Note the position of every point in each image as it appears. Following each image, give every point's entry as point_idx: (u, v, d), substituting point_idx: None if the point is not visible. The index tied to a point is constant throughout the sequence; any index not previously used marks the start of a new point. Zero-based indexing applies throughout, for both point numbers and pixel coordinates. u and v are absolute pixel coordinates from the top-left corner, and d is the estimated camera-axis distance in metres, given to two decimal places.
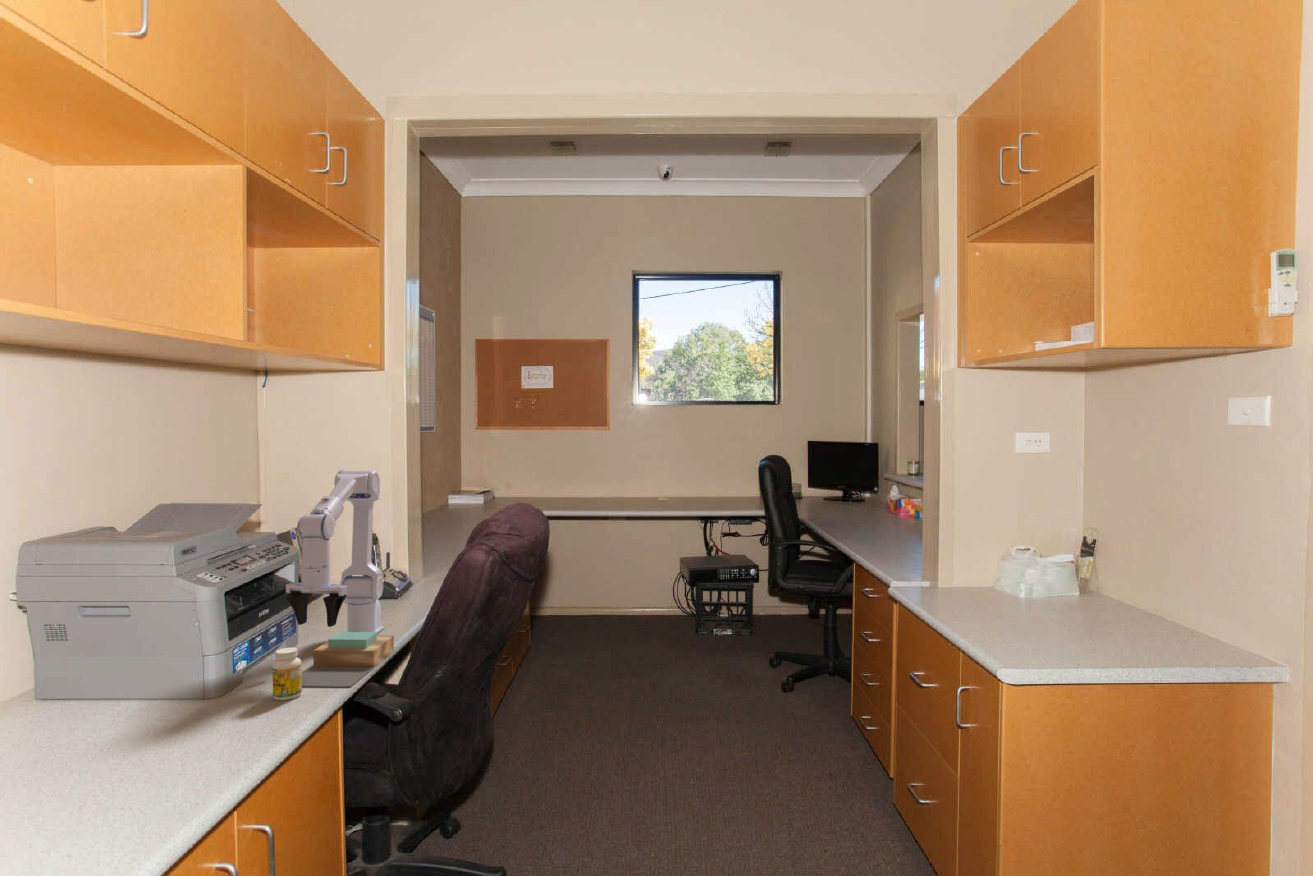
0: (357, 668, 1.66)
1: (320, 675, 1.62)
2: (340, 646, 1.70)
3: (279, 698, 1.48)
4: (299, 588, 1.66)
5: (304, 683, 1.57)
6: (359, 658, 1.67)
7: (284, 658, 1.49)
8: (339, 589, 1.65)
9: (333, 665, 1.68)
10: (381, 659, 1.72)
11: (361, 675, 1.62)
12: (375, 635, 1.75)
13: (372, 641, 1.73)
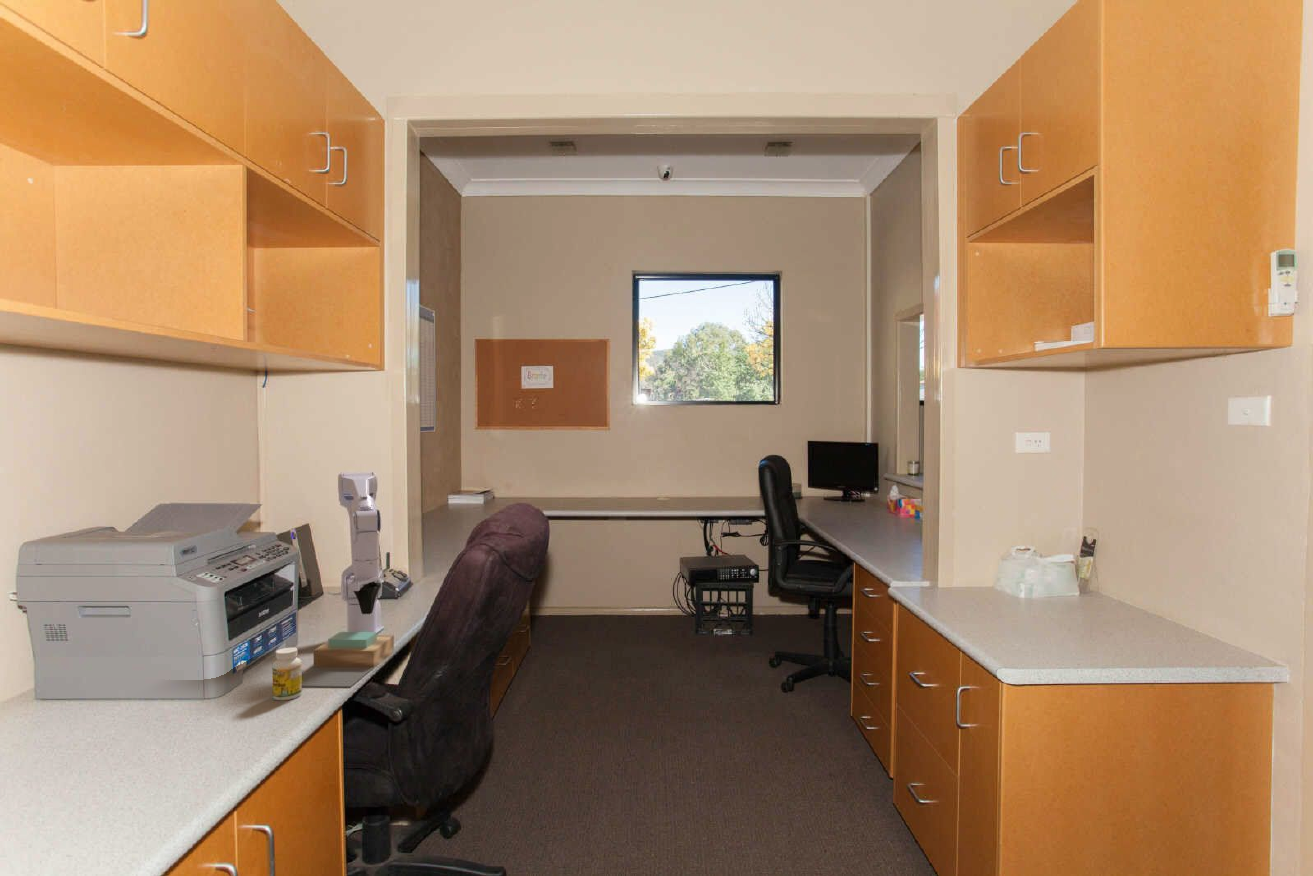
0: (357, 668, 1.66)
1: (320, 675, 1.62)
2: (340, 646, 1.70)
3: (279, 698, 1.48)
4: None
5: (304, 683, 1.57)
6: (359, 658, 1.67)
7: (284, 658, 1.49)
8: None
9: (333, 665, 1.68)
10: (381, 659, 1.72)
11: (361, 675, 1.62)
12: (375, 635, 1.75)
13: (372, 641, 1.73)
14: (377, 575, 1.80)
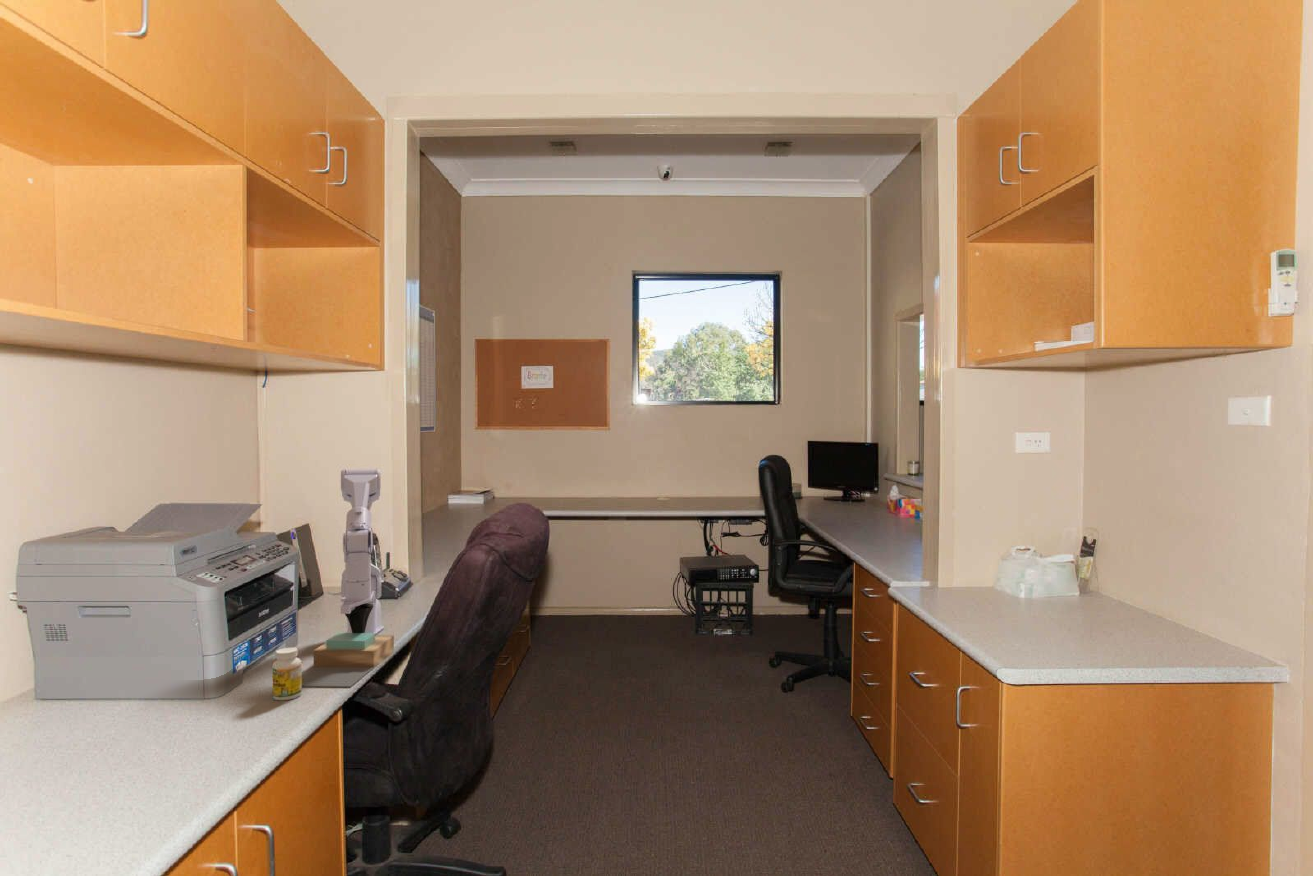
0: (357, 668, 1.66)
1: (320, 675, 1.62)
2: (338, 647, 1.69)
3: (279, 698, 1.48)
4: None
5: (304, 683, 1.57)
6: (359, 658, 1.67)
7: (284, 658, 1.49)
8: None
9: (333, 665, 1.68)
10: (381, 659, 1.72)
11: (361, 675, 1.62)
12: (373, 636, 1.74)
13: (370, 642, 1.72)
14: (369, 596, 1.75)
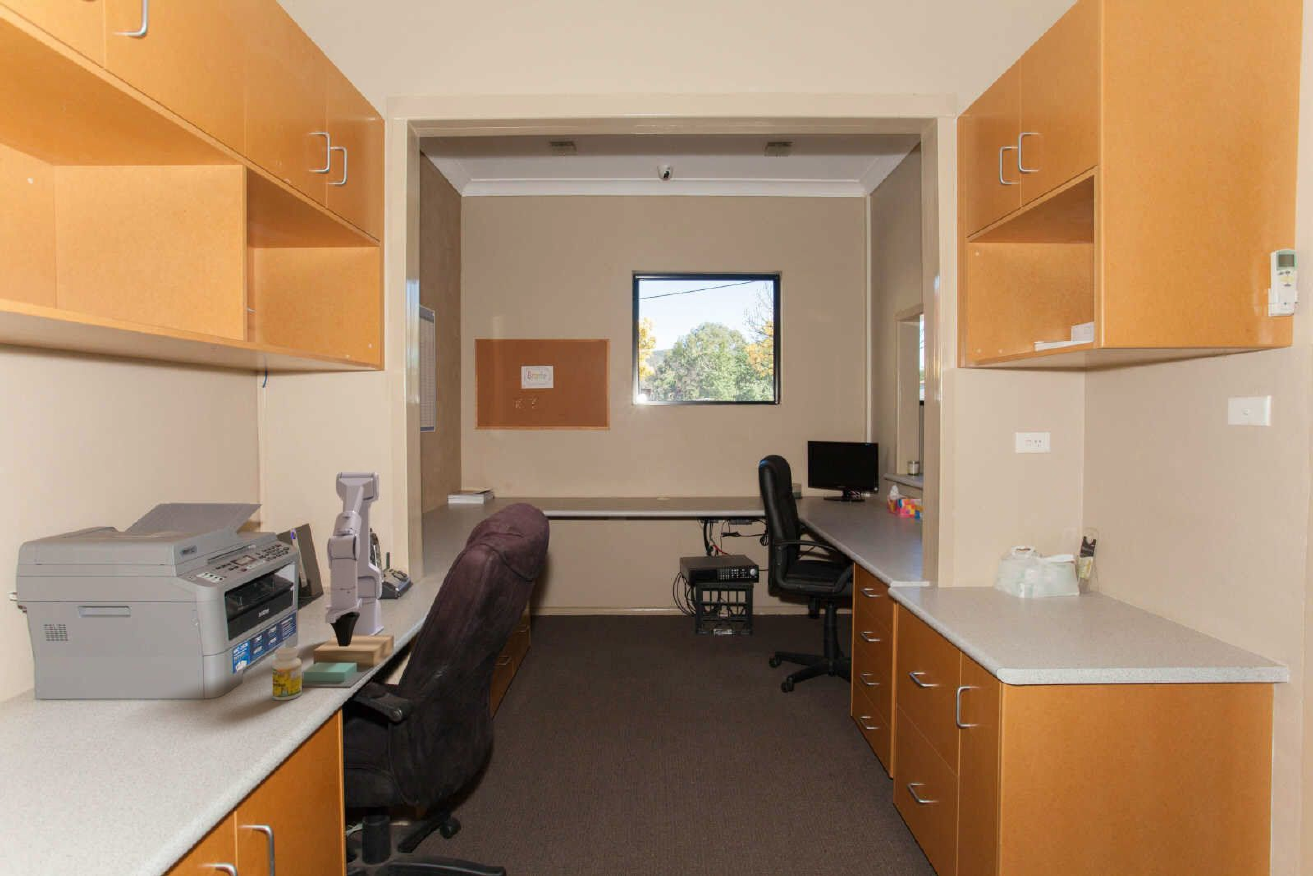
0: (357, 668, 1.66)
1: None
2: None
3: (279, 698, 1.48)
4: None
5: (304, 683, 1.57)
6: (359, 658, 1.67)
7: (284, 658, 1.49)
8: None
9: None
10: (381, 659, 1.72)
11: (361, 675, 1.62)
12: (346, 677, 1.59)
13: (350, 670, 1.61)
14: (355, 605, 1.67)
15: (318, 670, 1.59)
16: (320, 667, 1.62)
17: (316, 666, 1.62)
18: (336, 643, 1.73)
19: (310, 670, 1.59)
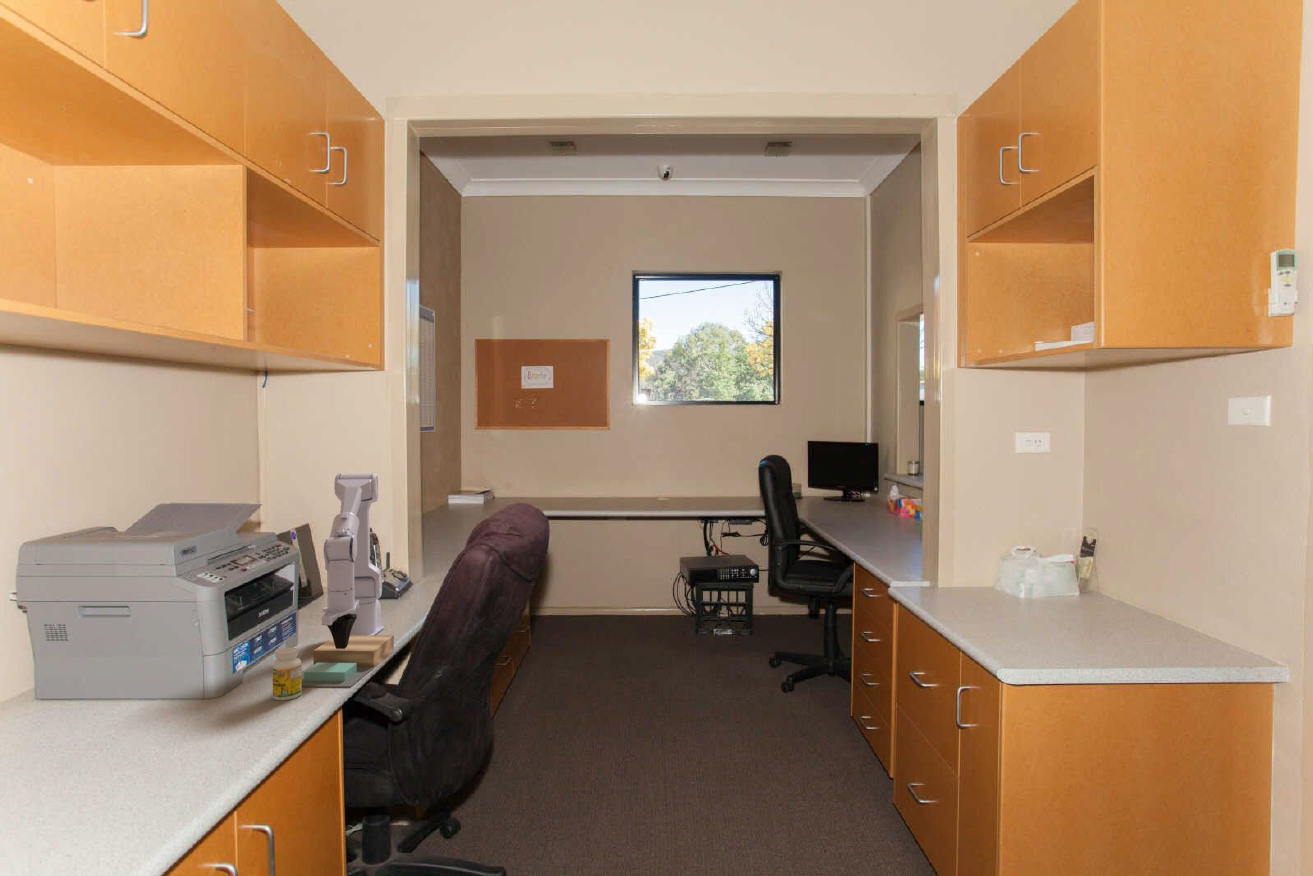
0: (357, 668, 1.66)
1: None
2: None
3: (279, 698, 1.48)
4: None
5: (304, 683, 1.57)
6: (359, 658, 1.67)
7: (284, 658, 1.49)
8: None
9: None
10: (381, 659, 1.72)
11: (361, 675, 1.62)
12: (346, 677, 1.59)
13: (350, 670, 1.61)
14: (352, 606, 1.66)
15: (318, 670, 1.59)
16: (320, 667, 1.62)
17: (316, 666, 1.62)
18: None
19: (310, 670, 1.59)
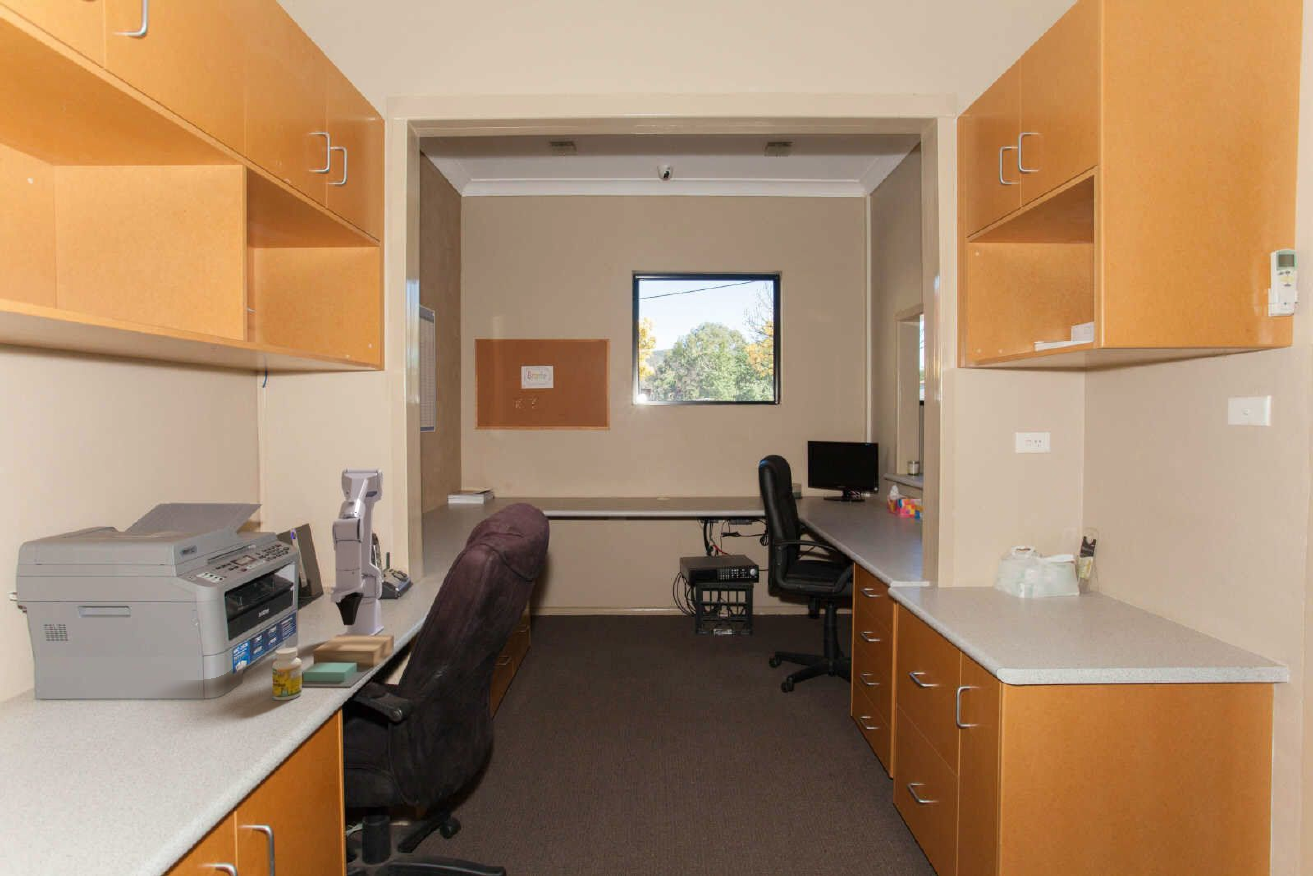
0: (357, 668, 1.66)
1: None
2: None
3: (279, 698, 1.48)
4: None
5: (304, 683, 1.57)
6: (359, 658, 1.67)
7: (284, 658, 1.49)
8: None
9: None
10: (381, 659, 1.72)
11: (361, 675, 1.62)
12: (346, 677, 1.59)
13: (350, 670, 1.61)
14: (359, 585, 1.74)
15: (318, 670, 1.59)
16: (320, 667, 1.62)
17: (316, 666, 1.62)
18: (336, 643, 1.73)
19: (310, 670, 1.59)
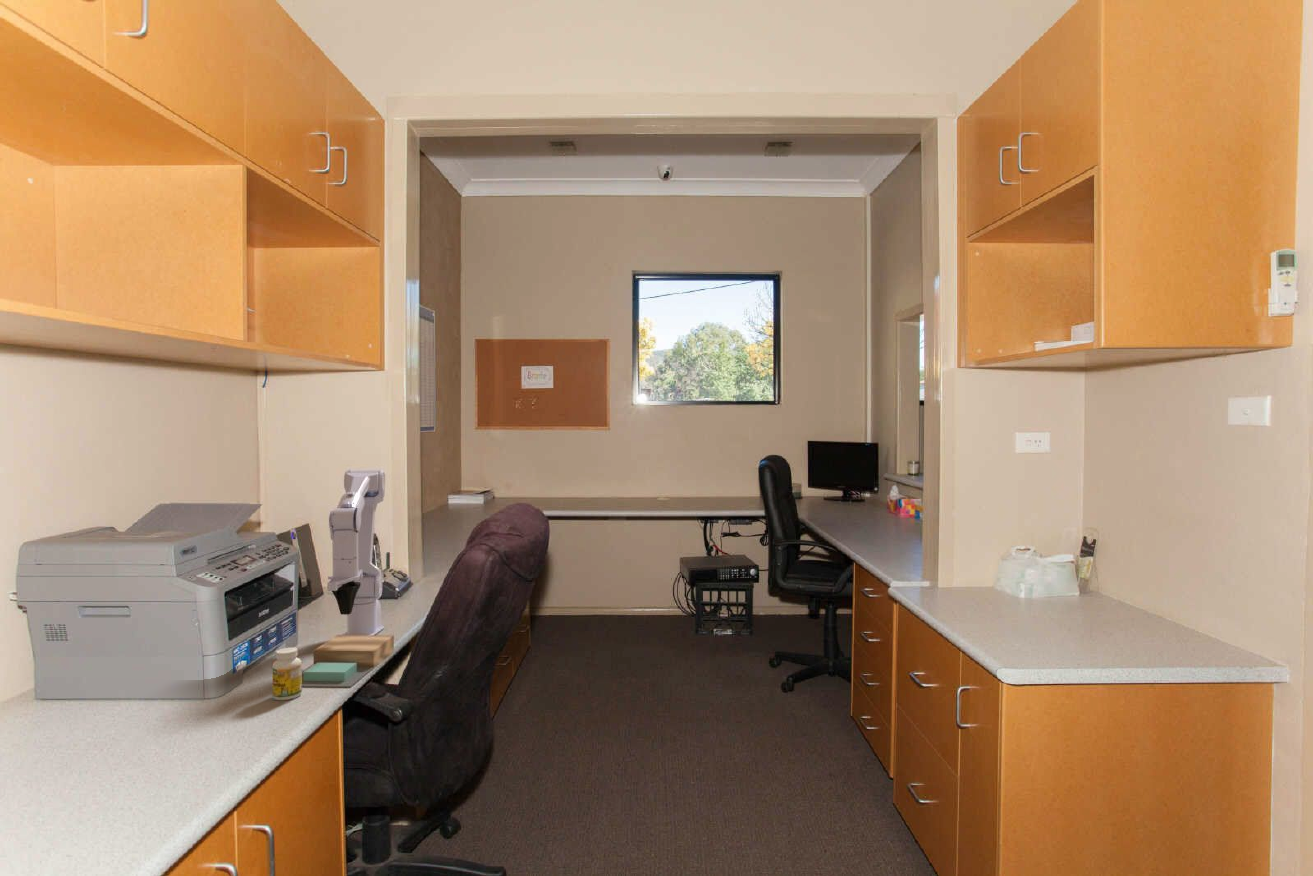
0: (357, 668, 1.66)
1: None
2: None
3: (279, 698, 1.48)
4: None
5: (304, 683, 1.57)
6: (359, 658, 1.67)
7: (284, 658, 1.49)
8: None
9: None
10: (381, 659, 1.72)
11: (361, 675, 1.62)
12: (346, 677, 1.59)
13: (350, 670, 1.61)
14: (356, 574, 1.75)
15: (318, 670, 1.59)
16: (320, 667, 1.62)
17: (316, 666, 1.62)
18: (336, 643, 1.73)
19: (310, 670, 1.59)
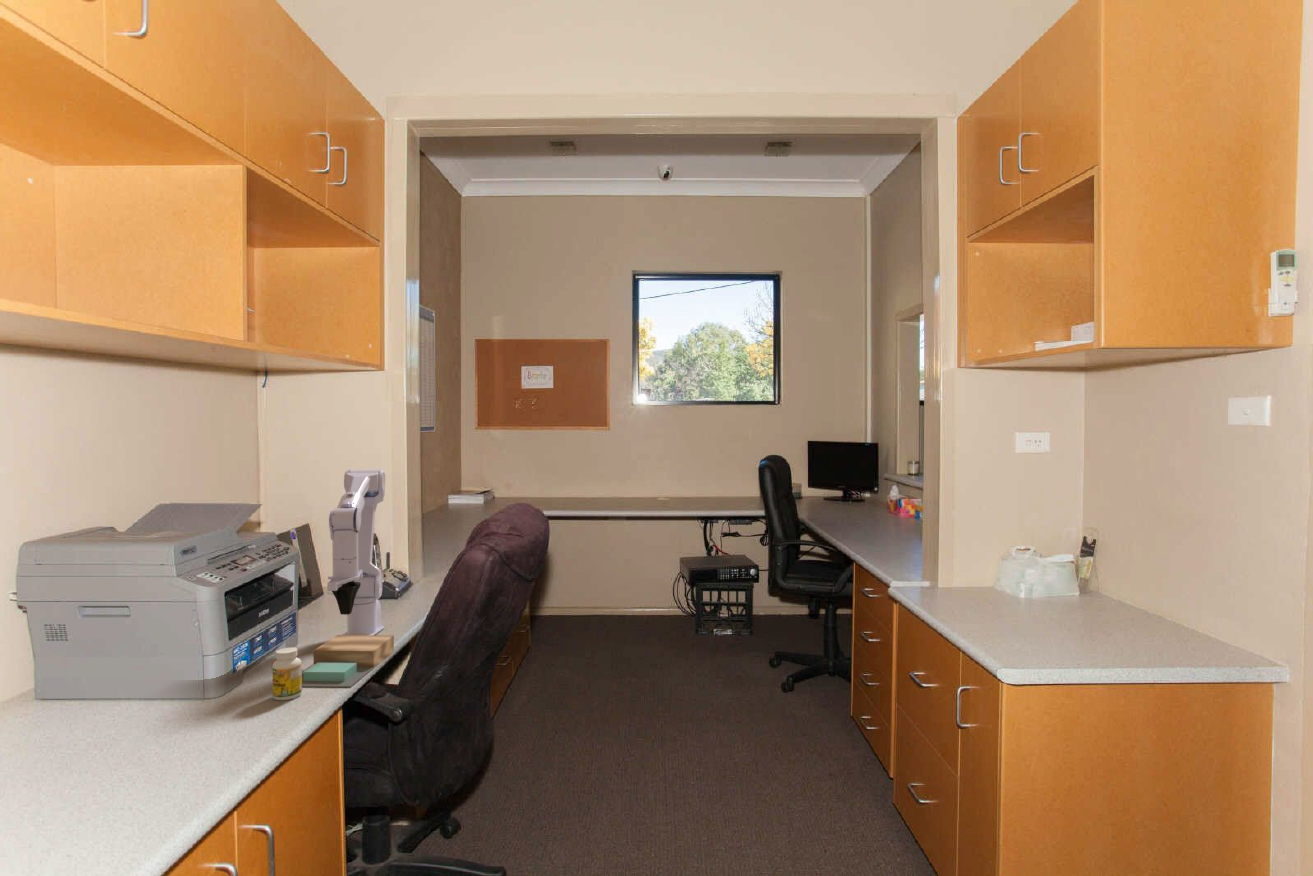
0: (357, 668, 1.66)
1: None
2: None
3: (279, 698, 1.48)
4: None
5: (304, 683, 1.57)
6: (359, 658, 1.67)
7: (284, 658, 1.49)
8: None
9: None
10: (381, 659, 1.72)
11: (361, 675, 1.62)
12: (346, 677, 1.59)
13: (350, 670, 1.61)
14: (356, 574, 1.75)
15: (318, 670, 1.59)
16: (320, 667, 1.62)
17: (316, 666, 1.62)
18: (336, 643, 1.73)
19: (310, 670, 1.59)
